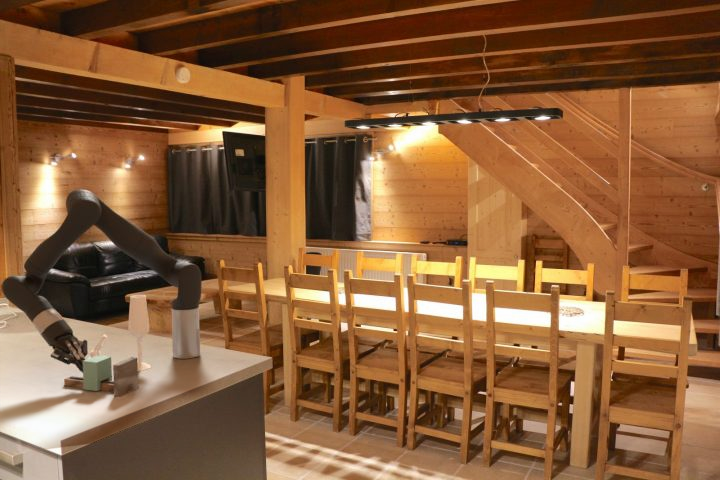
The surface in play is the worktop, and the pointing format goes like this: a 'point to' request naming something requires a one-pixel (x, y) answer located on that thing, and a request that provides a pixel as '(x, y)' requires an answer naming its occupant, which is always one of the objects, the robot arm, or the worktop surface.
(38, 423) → the worktop surface
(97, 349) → the white vr controller
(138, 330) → the champagne flute
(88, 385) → the block
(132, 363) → the rail
